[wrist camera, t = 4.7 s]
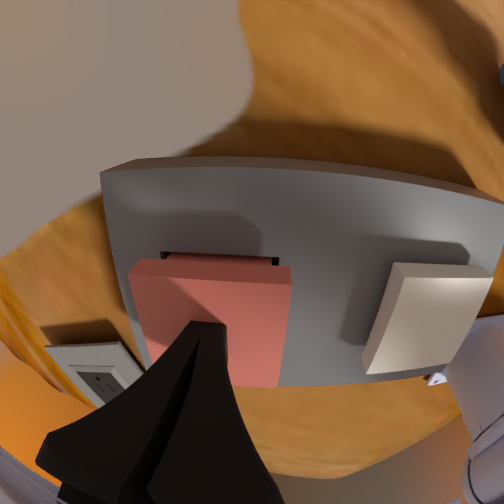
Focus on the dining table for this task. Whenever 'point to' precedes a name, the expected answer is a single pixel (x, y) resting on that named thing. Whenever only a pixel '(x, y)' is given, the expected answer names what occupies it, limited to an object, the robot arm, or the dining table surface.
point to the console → (301, 240)
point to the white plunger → (424, 315)
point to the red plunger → (217, 307)
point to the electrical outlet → (97, 368)
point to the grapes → (502, 75)
